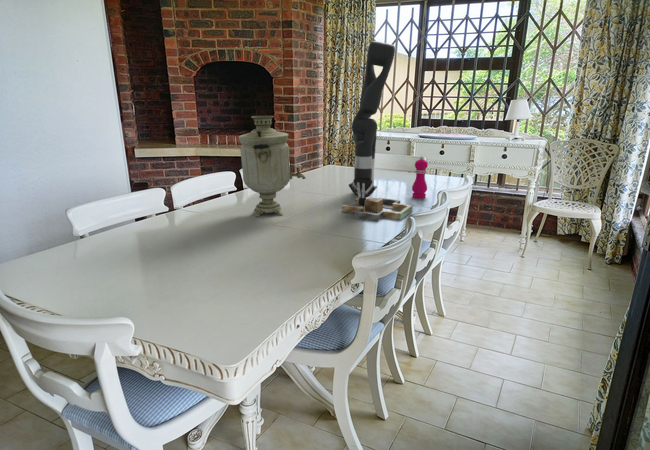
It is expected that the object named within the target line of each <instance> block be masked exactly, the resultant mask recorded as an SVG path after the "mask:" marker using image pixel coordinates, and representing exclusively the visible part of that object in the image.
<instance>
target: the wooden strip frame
mask: <svg viewBox="0 0 650 450" xmlns="http://www.w3.org/2000/svg"><path fill="white" fill-rule="evenodd" d="M378 198H379V199H383V210H382V211H381V212H379V213H371V212H365V207H363V206H360V205H359V197H358V198H357V197H356V198H354V204H355V206H354V205H353V206H352V205H347V204H343V205H341V212H343V213H352V214H355V215H354V216H355V217H354V218H355V219H360V220H368V221H376V222H379V221H381V220H382V219H383V218H385V219H391V220H392V219H393V220H399V221H402V220H403V219H404V218H406V216H408V215H409V214H410V213H412V212H413V204H412V205H411V204H405V203H401V200H400V199H395V198H394V199H393V198H387V197H378ZM356 205H358V206H356ZM384 209H389V210H384ZM390 210H391V211H390ZM392 210H394V211H392ZM396 211H397V212H396ZM398 211H399V212H398Z"/></svg>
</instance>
